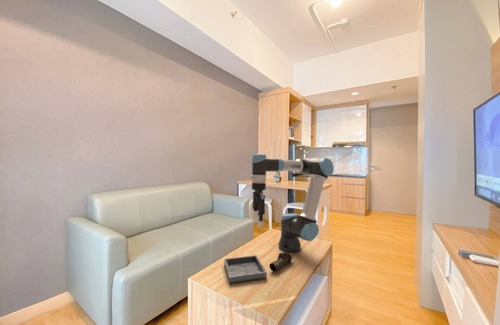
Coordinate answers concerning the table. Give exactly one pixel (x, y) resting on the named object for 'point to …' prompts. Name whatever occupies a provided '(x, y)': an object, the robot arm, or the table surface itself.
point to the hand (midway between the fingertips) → (258, 224)
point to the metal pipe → (280, 261)
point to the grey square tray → (244, 269)
